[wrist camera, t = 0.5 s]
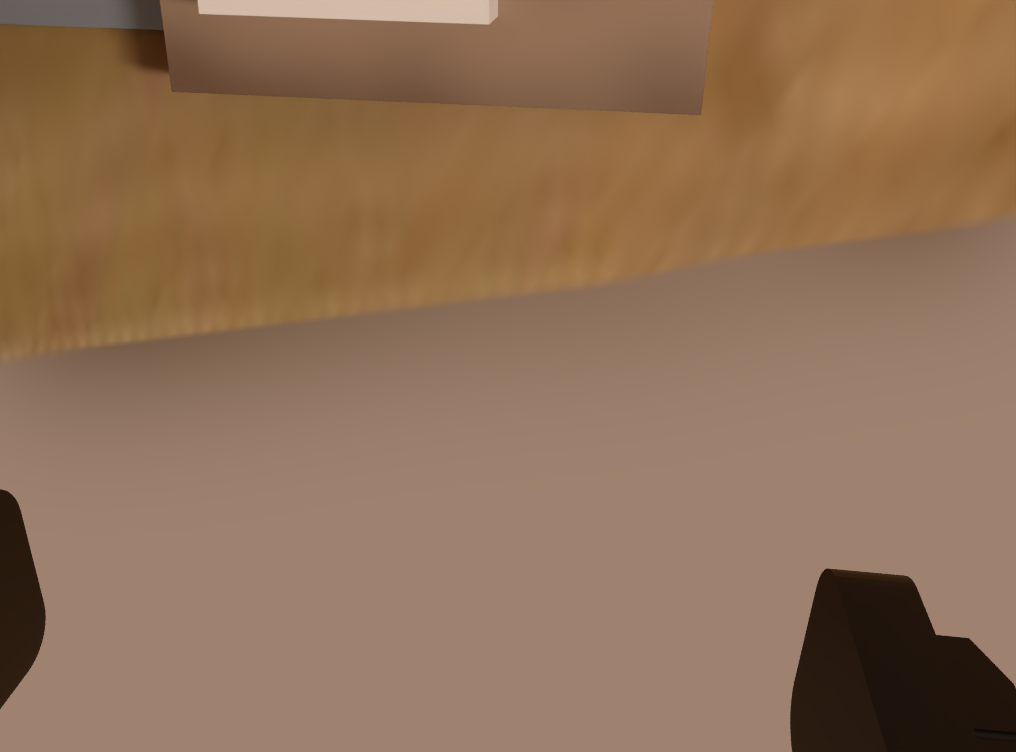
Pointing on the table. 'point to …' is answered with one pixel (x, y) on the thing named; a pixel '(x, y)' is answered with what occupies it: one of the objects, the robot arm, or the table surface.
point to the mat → (84, 13)
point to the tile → (361, 9)
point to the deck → (456, 56)
